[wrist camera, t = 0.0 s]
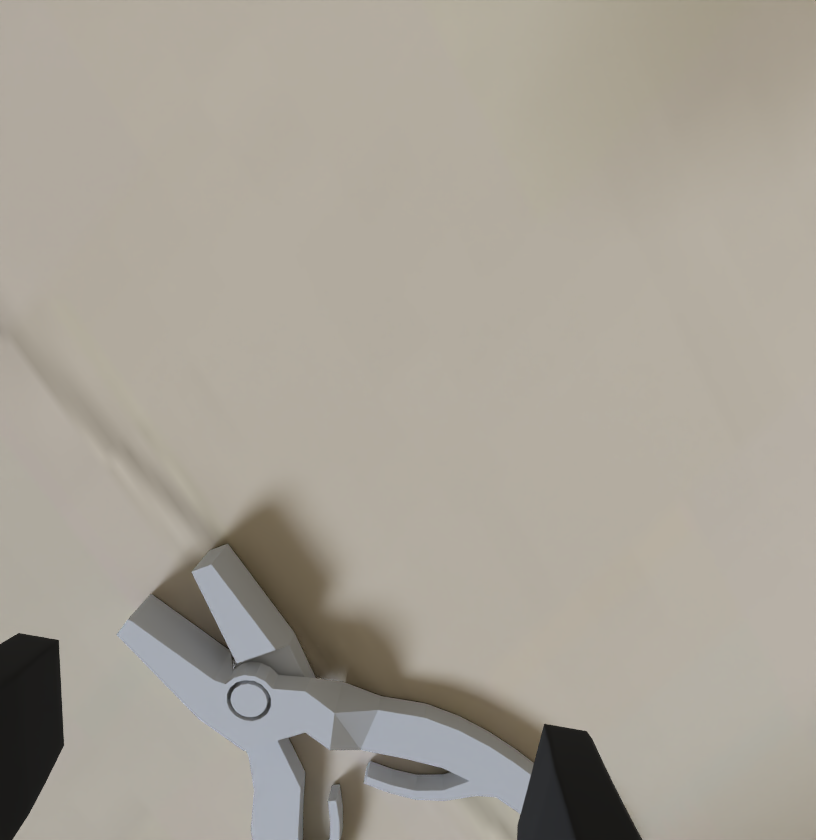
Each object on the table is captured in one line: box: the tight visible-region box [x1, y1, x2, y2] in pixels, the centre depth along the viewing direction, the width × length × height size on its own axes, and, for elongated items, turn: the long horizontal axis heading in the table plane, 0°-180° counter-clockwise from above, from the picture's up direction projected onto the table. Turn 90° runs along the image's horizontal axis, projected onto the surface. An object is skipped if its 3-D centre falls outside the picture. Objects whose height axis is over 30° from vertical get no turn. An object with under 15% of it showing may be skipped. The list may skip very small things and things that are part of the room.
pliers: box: [117, 544, 534, 840], centre depth 23 cm, size 10×2×15 cm
